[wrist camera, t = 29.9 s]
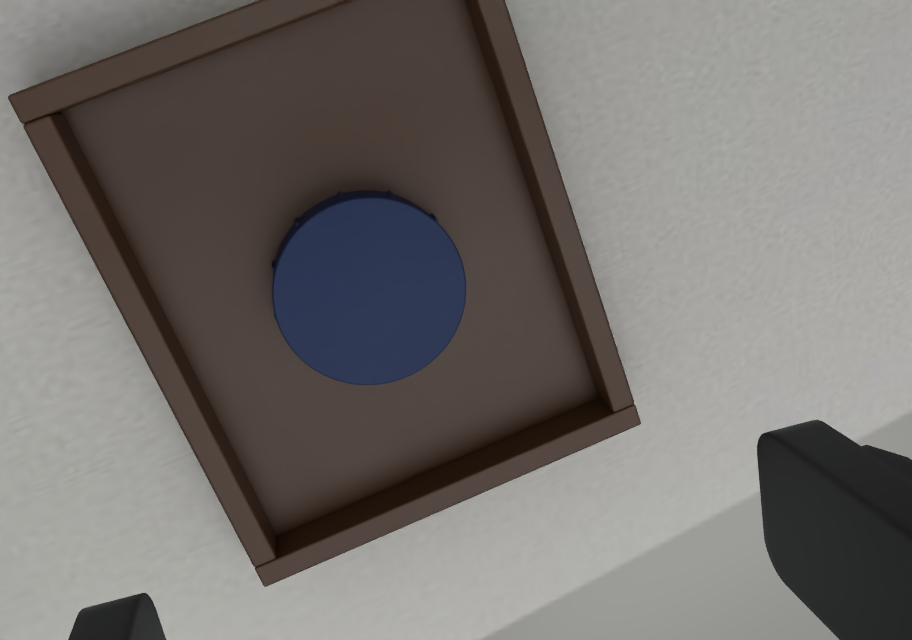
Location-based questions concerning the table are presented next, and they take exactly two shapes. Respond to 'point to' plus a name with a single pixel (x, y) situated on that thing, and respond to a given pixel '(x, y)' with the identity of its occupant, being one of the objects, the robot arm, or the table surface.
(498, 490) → the table surface
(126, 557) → the table surface
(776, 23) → the table surface
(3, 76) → the table surface
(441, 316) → the lid
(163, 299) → the tray
